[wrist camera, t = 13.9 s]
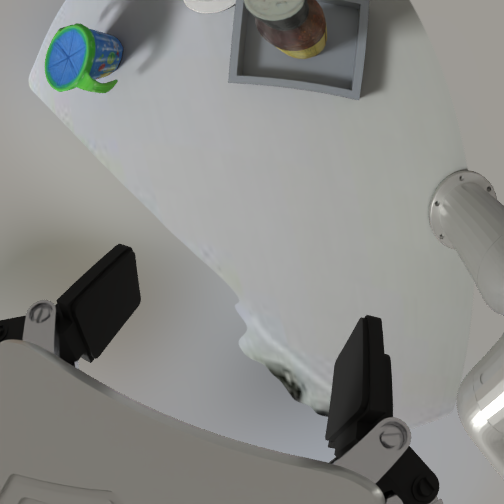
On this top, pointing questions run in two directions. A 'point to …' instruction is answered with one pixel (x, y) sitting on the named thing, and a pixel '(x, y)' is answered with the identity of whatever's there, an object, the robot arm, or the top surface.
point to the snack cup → (82, 59)
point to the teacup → (209, 5)
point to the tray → (311, 69)
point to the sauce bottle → (291, 25)
